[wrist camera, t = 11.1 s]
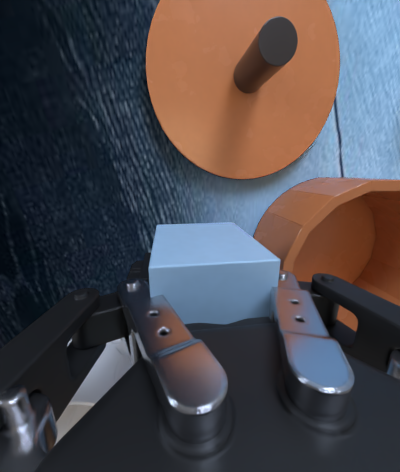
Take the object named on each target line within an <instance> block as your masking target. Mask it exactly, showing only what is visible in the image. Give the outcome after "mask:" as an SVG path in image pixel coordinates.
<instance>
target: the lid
mask: <svg viewBox="0 0 400 472" xmlns="http://www.w3.org/2000/svg"><path fill="white" fill-rule="evenodd" d="M339 70H340V51H339V41H338V35H337V30H336V26H335V22H334V19H333V16H332V13H331V10H330V8H329V6H328V3H327V1H326V0H160V2H159V4H158V6H157V8H156V11H155V14H154V16H153V19H152V22H151V26H150V31H149V35H148V41H147V49H146V75H147V84H148V89H149V94H150V98H151V103H152V105H153V108H154V111H155V114H156V117H157V119H158V121H159V123H160V125H161V127H162V129H163V131H164V132H165V134H166V135H167V137H168V138H169V140H170V141H171V143H172V144H173V145H174V146H175V147H176V149H177V150H178V151H179V152H180V153H181V154H182V155H183V156H184V157H186V158H187V159H188V160H189V161H190V162H192V163H193V164H195V165H196V166H197V167H199V168H201V169H203V170H205V171H207V172H209V173H212V174H215V175H217V176H221V177H225V178H230V179H254V178H258V177H263V176H266V175H269V174H272V173H275V172H277V171H279V170H281V169H283V168H285V167H286V166H288V165H289V164H291V163H292V162H293V161H295V160H296V159H297V158H298V157H299V156H301V155H302V154H303V153H304V152H305V151H306V150H307V149H308V147H309V146H310V145H311V144H312V143H313V141H314V140H315V139H316V137H317V136H318V134H319V133H320V131H321V130H322V128H323V126H324V124H325V122H326V120H327V118H328V116H329V113H330V111H331V109H332V105H333V102H334V99H335V96H336V91H337V86H338V80H339Z"/></svg>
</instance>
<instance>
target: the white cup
mask: <svg viewBox="0 0 400 472" xmlns="http://www.w3.org/2000/svg"><path fill="white" fill-rule="evenodd" d="M71 342H72V338H71V340H70V341H69V342H68V345H69V344H70V343H71ZM68 345H67V346H68ZM130 368H131V363H130V359H129V356H128V353H127V349H126V346H125V342H124V339H123V338H120V339H117V340H114V341H111V342H108V343H106V347H105V349H104V351H103V352H102V354H101V355H100V357H99V358H98V360H97V361H96V363H95V364H94V366H93V367H92V369H91V370H90V372H89V374H88V375H87V377H86V378H85V380H84V381H83V383H82V384H81V386H80V387H79V389H78V390H77V392H76V393H75V395H74V396H73V398H72V399H71V401H70V402H69V404H68V406H67V407H66V409H65V410H64V412H63V413H62V415H61V416H60V418H59V419H58V421H57V422H56V425H57V429H58V435H57V440H56V443H57V442H58V441H59V440H60V439H61V438H62V437H63V436H64V435H65V434H66V433H67V432H68V431H69V430H70V429H71V428H72V427H73V426H74V425H75V424H76V423H77V422H78V421H79V420H80V419H81V418H82V417H83V416H84V415H85V414H86V413H87V412H88V411H89V410H90V409H91V408H92V407H93V406H94V405H95V404H96V402H97V401H98V400H99V399H100V398H101V397H102V396H103V395H104V394H105V393H106V392H107V391H108V390H109V389H110V388H111V387H112V386H113V385H114V384H115V383H116V382H117V381H118V380H119V379H120V378H121V377H122V376H123V375H124V374H125V373H126V372H127V371H128V370H129V369H130ZM56 443H55V444H56ZM54 446H55V445H54Z"/></svg>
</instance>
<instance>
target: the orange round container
mask: <svg viewBox="0 0 400 472" xmlns="http://www.w3.org/2000/svg"><path fill="white" fill-rule="evenodd" d="M253 238H254V239H255V240H256V241H258V242H259V243H260V244H261V245H263V246H264V247H265V248H266V249H268V250H269V251H270V252H271V253H273V254H274V255H275V256H276V257H278V258H279V259H280V270H285V271H289V272H291V273H293V274H294V275H295V276H296V278H297V281H304V282H312V276H313V275H314V274H317V273H324V274H330V275H333V276H336V277H338V278H341V279H343V280H345V281H347V282H349V283H351V284H353V285H355V286H358V287H360V288H362V289H364V290H366V291H368V292H370V293H372V294H375V295H377V296H379V297H381V298H383V299H385V300H387V301H389V302H392V303H394V304H396V305H398V306H400V180H392V179H367V178H330V177H326V178H315V179H312V180H308V181H305V182H302V183H300V184H298V185H296V186H294V187H292V188H290V189H289V190H288V191H286V192H285V193H283V194H282V195H281V196H280V197H279V198H277V199H276V200H275V201H274V202H273V203H272V205H271V206H270V207H269V208H268V209H267V211H266V212H265V214H264V215H263V217H262V218H261V220H260V222H259V224H258V226H257V229H256V231H255V234H254V237H253ZM337 319H338V320H339V321H341V322H342V323H344V324H345V325H347V326H348V327H350V328H351V329H353V330H354V331H356V330H357V326H358V320H357V318H356V316H355V315H354V314H353V313H352V312H350V311H349V310H347V309H345V308H344V307H342V306H340V305H339V310H338V315H337Z"/></svg>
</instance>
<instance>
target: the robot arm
mask: <svg viewBox="0 0 400 472" xmlns="http://www.w3.org/2000/svg"><path fill="white" fill-rule="evenodd" d="M150 257H151V253H145V257H144V261H136V262H135V263H134V264H132V266H131V269H130V272H129V274H128V277H127V280H125V281H122V282H121V283H119V284H118V286H117V290H118V291H117V292H115V293H112V294H108V295H104V296H99V291H98V290H97V289H94V288H84V289H79V290H76V291H73V292H71V293H69V294H68V295H66V296H65V297H64V298H63V299H61V300H60V301H59V302H58V303H56V304H55V305H54V306H53V307H52V308H50V309H49V310H48V311H47V312H45V313H44V314H43V315H42V316H40V317H39V318H38V319H37V320H35V321H34V322H33V323H32V324H30V325H29V326H28V327H27V328H26V329H24V330H23V331H22V332H21V333H19V334H18V335H17V336H16V337H14V338H13V339H12V340H11V341H9V342H8V343H7V344H6V345H4V346H3V347H2V348H1V349H0V472H400V306H398V305H396V304H394V303H392V302H389V301H387V300H385V299H383V298H381V297H379V296H377V295H375V294H372V293H370V292H368V291H366V290H364V289H362V288H360V287H358V286H355V285H353V284H351V283H349V282H347V281H345V280H343V279H341V278H338V277H336V276H333V275H330V274H324V273H317V274H314V275H313V276H312V282H304V281H297V278H296V276H295V275H294V274H293V273H291V272H289V271H285V270H279V279H278V287H272V289H271V290H270V299H269V304H270V305H269V316H268V317H257V318H247V319H243V320H240V321H237V322H233V323H230V324H225V325H224V324H211V323H191V324H184V323H183V322H182V320H181V319H180V317H179V316H178V315H177V313H176V312H175V310H174V309H173V308H172V306H171V305H170V304H169V302H168V301H167V299H166V298H165V297H164V295H158V296H154V297H151V298H150V285H149V271H148V267H149V262H150ZM339 305H340V306H342V307H344V308H345V309H347V310H349V311H350V312H352V313H353V314H354V315H355V316H356V318H357V320H358V326H357V330H356V331H354V330H353V329H351V328H350V327H348V326H347V325H345V324H344V323H342V322H341V321H339V320H338V319H337V315H338V310H339ZM71 337H72V342H71V343H70V344H69V345H68V342H69V340H70V338H71ZM120 338H123V339H124V342H125V346H126V349H127V353H128V356H129V359H130V363H131V368H130V369H129V370H128V371H127V372H126V373H125V374H124V375H123V376H122V377H121V378H120V379H119V380H118V381H117V382H116V383H115V384H114V385H113V386H112V387H111V388H110V389H109V390H108V391H107V392H106V393H105V394H104V395H103V396H102V397H101V398H100V399H99V400H98V401H97V402H96V404H95V405H94V406H93V407H92V408H91V409H90V410H89V411H88V412H87V413H86V414H85V415H84V416H83V417H82V418H81V419H80V420H79V421H78V422H77V423H76V424H75V425H74V426H73V427H72V428H71V429H70V430H69V431H68V432H67V433H66V434H65V435H64V436H63V437H62V438H61V439H60V440H59V441H58V442H57V443H56V440H57V435H58V429H57V425H56V422H57V421H58V419H59V418H60V416H61V415H62V413H63V412H64V410H65V409H66V407H67V406H68V404H69V402H70V401H71V399H72V398H73V396H74V395H75V393H76V392H77V390H78V389H79V387H80V386H81V384H82V383H83V381H84V380H85V378H86V377H87V375H88V374H89V372H90V370H91V369H92V367H93V366H94V364H95V363H96V361H97V360H98V358H99V357H100V355H101V354H102V352H103V351H104V349H105V347H106V343H108V342H111V341H114V340H117V339H120ZM67 345H68V346H67ZM55 443H56V444H55ZM54 445H55V446H54Z"/></svg>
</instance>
